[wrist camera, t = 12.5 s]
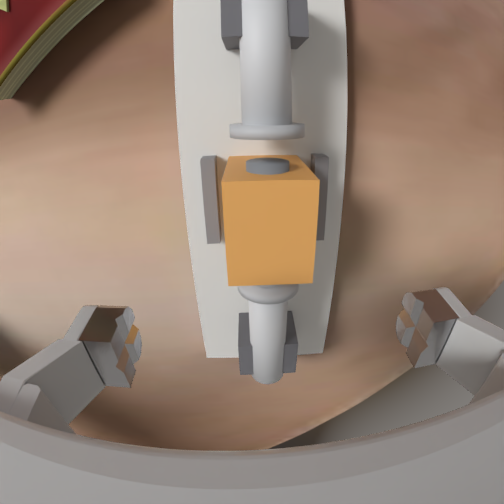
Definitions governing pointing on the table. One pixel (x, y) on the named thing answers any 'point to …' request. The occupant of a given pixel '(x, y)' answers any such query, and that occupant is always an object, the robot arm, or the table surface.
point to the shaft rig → (260, 143)
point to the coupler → (269, 220)
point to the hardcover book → (33, 35)
